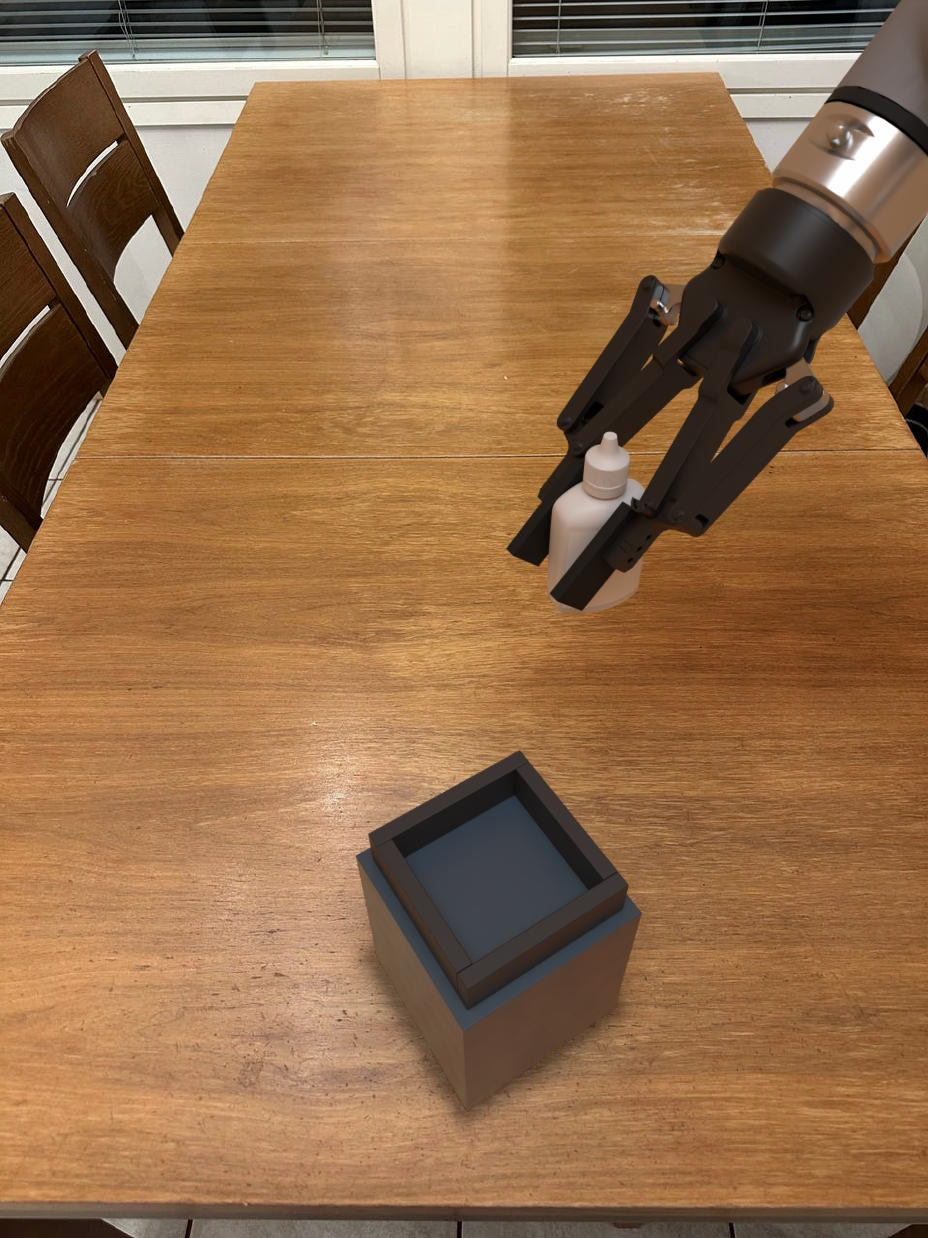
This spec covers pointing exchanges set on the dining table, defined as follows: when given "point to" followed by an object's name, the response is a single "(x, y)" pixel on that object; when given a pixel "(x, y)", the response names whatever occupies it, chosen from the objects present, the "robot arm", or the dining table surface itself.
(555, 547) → the eye dropper bottle
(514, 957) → the pedestal
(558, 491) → the robot arm
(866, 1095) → the dining table surface
